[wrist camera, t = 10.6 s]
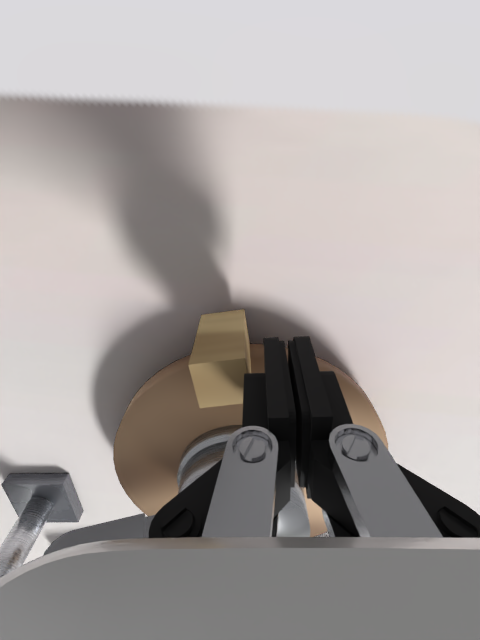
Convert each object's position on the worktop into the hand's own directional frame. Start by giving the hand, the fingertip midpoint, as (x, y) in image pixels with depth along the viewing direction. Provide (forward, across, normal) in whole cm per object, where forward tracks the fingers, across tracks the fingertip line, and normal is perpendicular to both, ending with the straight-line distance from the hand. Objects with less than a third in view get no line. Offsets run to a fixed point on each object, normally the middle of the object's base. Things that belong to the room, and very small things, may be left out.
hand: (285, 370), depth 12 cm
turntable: (+3, +2, +8) cm, 8 cm away
